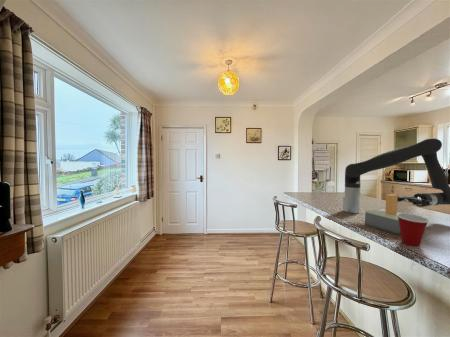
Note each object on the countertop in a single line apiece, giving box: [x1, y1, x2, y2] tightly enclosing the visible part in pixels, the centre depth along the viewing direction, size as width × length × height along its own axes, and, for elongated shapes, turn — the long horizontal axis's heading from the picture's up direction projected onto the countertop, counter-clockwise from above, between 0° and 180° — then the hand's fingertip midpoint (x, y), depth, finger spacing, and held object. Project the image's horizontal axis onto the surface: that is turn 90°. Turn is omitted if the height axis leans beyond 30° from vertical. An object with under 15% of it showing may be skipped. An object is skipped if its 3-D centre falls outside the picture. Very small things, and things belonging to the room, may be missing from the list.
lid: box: [365, 193, 400, 221], centre depth 115 cm, size 18×14×12 cm
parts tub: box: [364, 212, 401, 236], centre depth 115 cm, size 18×14×7 cm
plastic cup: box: [397, 212, 430, 247], centre depth 94 cm, size 11×11×12 cm
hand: (404, 201), depth 118 cm, fingers open, 8 cm apart
